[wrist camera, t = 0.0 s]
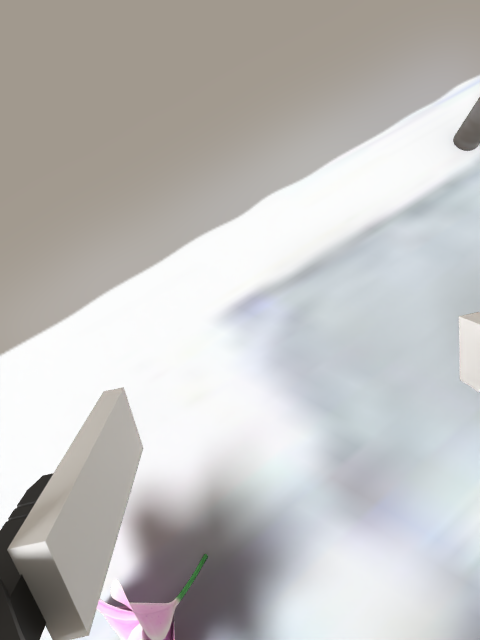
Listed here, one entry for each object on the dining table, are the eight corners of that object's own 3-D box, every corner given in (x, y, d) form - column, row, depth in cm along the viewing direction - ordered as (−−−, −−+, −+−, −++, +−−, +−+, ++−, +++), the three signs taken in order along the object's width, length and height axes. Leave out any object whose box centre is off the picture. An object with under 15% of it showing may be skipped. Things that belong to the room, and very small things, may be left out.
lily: (100, 502, 28) (-24, 612, 19) (230, 468, 24) (153, 586, 15) (159, 646, 28) (62, 827, 18) (299, 635, 24) (264, 858, 15)
